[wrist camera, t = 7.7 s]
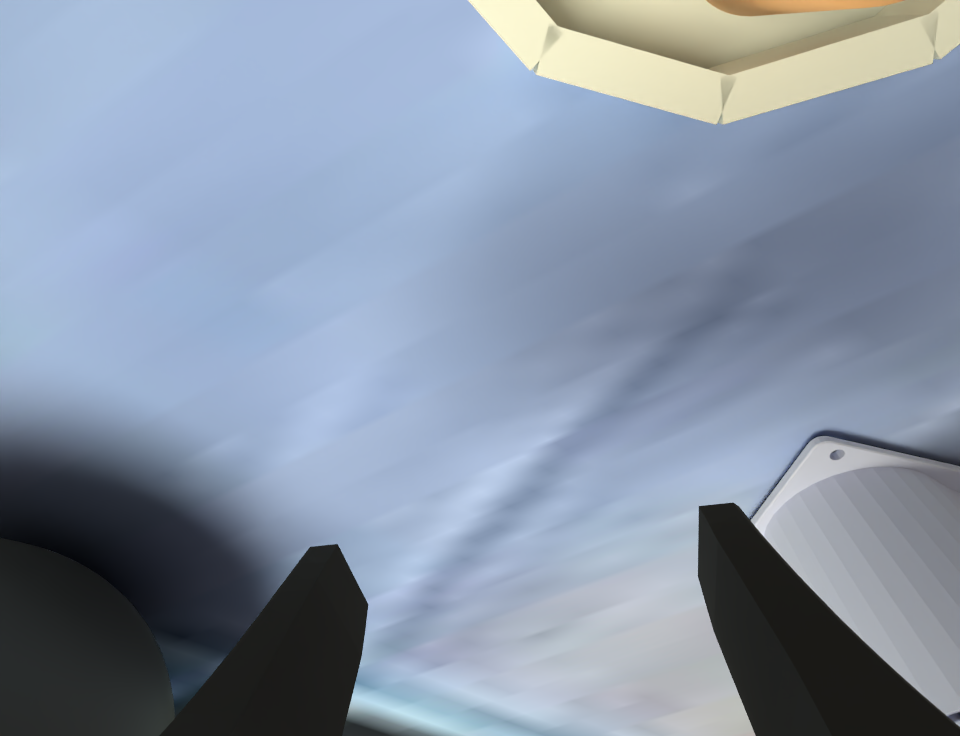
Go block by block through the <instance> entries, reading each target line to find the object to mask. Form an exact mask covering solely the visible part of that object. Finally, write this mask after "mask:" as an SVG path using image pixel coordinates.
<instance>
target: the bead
mask: <svg viewBox="0 0 960 736" xmlns="http://www.w3.org/2000/svg"><path fill="white" fill-rule="evenodd" d="M706 1H707V2H708V3H710V4H711V5H712V6H714V7H716V8H717V9H719V10H721V11H724V12H726V13H729V14H733V15H738V16H762V15H776V14H790V13H803V12H817V11H831V10H844V9H858V8H870V7H879V6H885V5H889V4H893V3H897V2H901V1H904V0H706Z"/></svg>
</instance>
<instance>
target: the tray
mask: <svg viewBox="0 0 960 736" xmlns="http://www.w3.org/2000/svg"><path fill="white" fill-rule="evenodd" d="M468 1H469V2H470V3H471V4H472V5H473V7H474V8H475V9H476V10H477V11H478V12H479V13H480V14H481V16H482V17H483V18H484V19H485V20H486V21H487V22H488V24H489V25H490V26H491V27H492V28H493V29H494V30H495V32H496V33H497V34H498V35H499V36H500V37H501V38H502V39H503V41H504V42H505V43H506V44H507V45H508V46H509V47H510V49H511V50H512V51H513V52H514V53H515V54H516V55H517V56H518V58H519V59H520V60H521V61H522V62H523V63H524V64H525V66H526V67H527V68H528V69H529V70H530V71H531V70H532V69H533V71H534V72H535V74H536V75H539V76H543V77H546V78H550V79H553V80H557V81H561V82H564V83H568V84H571V85H575V86H579V87H582V88H586V89H589V90H593V91H597V92H600V93H604V94H607V95H611V96H615V97H618V98H622V99H625V100H629V101H633V102H636V103H640V104H643V105H647V106H651V107H654V108H658V109H661V110H665V111H669V112H672V113H676V114H679V115H683V116H687V117H690V118H694V119H697V120H701V121H705V122H708V123H712V124H715V125H717V123H720V124H723V125H724V124H727V123H730V122H734V121H737V120H741V119H744V118H748V117H751V116H754V115H758V114H761V113H765V112H768V111H772V110H775V109H778V108H782V107H785V106H789V105H792V104H796V103H799V102H802V101H806V100H809V99H813V98H816V97H820V96H823V95H826V94H830V93H833V92H837V91H840V90H844V89H847V88H850V87H854V86H857V85H861V84H864V83H868V82H871V81H874V80H878V79H881V78H885V77H888V76H892V75H895V74H899V73H902V72H905V71H909V70H912V69H916V68H919V67H923V66H926V65H929V64H933V59H941V58H943V57H944V56H945V55H946V54H948V53H949V52H950V51H951V50H953V49H954V48H955V47H956V46H958V45H959V44H960V0H904V1H901V2H897V3H893V4H889V5H885V6H879V7H870V8H858V9H844V10H831V11H817V12H803V13H790V14H776V15H762V16H738V15H733V14H729V13H726V12H724V11H721V10H719V9H717V8H716V7H714V6H712V5H711V4H710V3H708V2H707V1H706V0H468Z"/></svg>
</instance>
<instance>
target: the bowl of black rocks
mask: <svg viewBox="0 0 960 736" xmlns="http://www.w3.org/2000/svg"><path fill="white" fill-rule="evenodd" d="M174 719H175V712H174V699H173V694H172V688H171V683H170V678H169V674H168V671H167V668H166V665H165V662H164V659H163V655H162V653H161V651H160V648H159V646H158V644H157V642H156V640H155V638H154V636H153V634H152V632H151V630H150V629H149V627H148V625H147V624H146V622H145V621H144V620H143V618H142V617H141V615H140V614H139V613H138V611H137V610H136V609H135V607H134V606H133V605H132V604H131V603H130V602H129V600H128V599H127V598H126V597H125V596H124V595H123V594H121V593H120V592H119V591H118V590H117V589H116V588H115V587H114V586H112V585H111V584H110V583H109V582H107V581H106V580H105V579H104V578H102V577H101V576H99V575H98V574H97V573H95V572H93V571H92V570H90V569H89V568H87V567H85V566H83V565H82V564H80V563H78V562H76V561H74V560H72V559H70V558H68V557H65V556H63V555H61V554H58V553H55V552H53V551H50V550H47V549H44V548H41V547H38V546H34V545H30V544H26V543H22V542H18V541H13V540H9V539H4V538H0V736H159V735H160V734H161V733H162V732H163V731H164V730H165V729H166V728H167V727H168V725H169V724H170V723H171V722H172V721H173V720H174Z"/></svg>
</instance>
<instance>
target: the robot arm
mask: <svg viewBox="0 0 960 736" xmlns="http://www.w3.org/2000/svg"><path fill="white" fill-rule="evenodd" d="M835 450H837V451H836V452H833V451H835ZM832 452H833V453H832ZM698 578H699V581H700V585H701V588H702V592H703V595H704V599H705V603H706V606H707V609H708V613H709V616H710V620H711V623H712V626H713V630H714V633H715V635H716V638H717V640H718V643H719V645H720V648H721V650H722V653H723V655H724V658H725V660H726V663H727V665H728V668H729V670H730V673H731V675H732V678H733V680H734V683H735V685H736V688H737V690H738V693H739V695H740V698H741V700H742V703H743V705H744V708H745V710H746V713H747V715H748V718H749V720H750V722H751V725H752V727H753V730H754V732H755V735H756V736H960V466H956V465H952V464H948V463H943V462H939V461H934V460H930V459H926V458H921V457H917V456H913V455H908V454H904V453H899V452H895V451H891V450H886V449H882V448H878V447H873V446H869V445H864V444H860V443H856V442H851V441H847V440H843V439H838V438H834V437H829V436H820V437H816V438H814V439H812V440H811V441H810V442H809V443H808V444H807V446H806V447H805V448H804V450H803V451H802V452H801V454H800V455H799V456H798V458H797V459H796V460H795V462H794V463H793V465H792V466H791V467H790V469H789V470H788V471H787V473H786V474H785V475H784V477H783V478H782V479H781V481H780V482H779V483H778V485H777V486H776V487H775V489H774V490H773V491H772V493H771V494H770V495H769V497H768V498H767V499H766V501H765V502H764V503H763V505H762V506H761V507H760V509H759V510H758V511H757V513H756V514H755V515H754V517H753V518H752V519H751V521H750V520H749V518H748V517H747V516H746V515H745V514H744V512H743V511H742V510H741V509H740V507H739V506H737V505H736V504H734V503H725V504H716V505H706V506H699V543H698ZM367 610H368V603H367V601H366V599H365V597H364V595H363V593H362V592H361V590H360V588H359V586H358V584H357V582H356V580H355V578H354V576H353V574H352V572H351V570H350V568H349V566H348V564H347V562H346V560H345V558H344V556H343V554H342V552H341V550H340V548H339V546H338V544H335V545H325V546H316V547H310V548H309V549H308V551H307V552H306V553H305V554H304V556H303V557H302V558H301V560H300V561H299V562H298V564H297V565H296V566H295V568H294V569H293V570H292V572H291V573H290V574H289V576H288V577H287V578H286V580H285V581H284V582H283V584H282V585H281V586H280V588H279V589H278V590H277V592H276V593H275V594H274V596H273V597H272V598H271V600H270V601H269V602H268V604H267V605H266V606H265V608H264V609H263V610H262V612H261V613H260V614H259V616H258V617H257V618H256V620H255V621H254V622H253V623H252V625H251V626H250V627H249V629H248V630H247V631H246V633H245V634H244V635H243V636H242V638H241V639H240V640H239V642H238V643H237V644H236V646H235V647H234V648H233V649H232V651H231V652H230V653H229V654H228V656H227V657H226V658H225V659H224V661H223V662H222V663H221V664H220V665H219V667H218V668H217V669H216V670H215V671H214V673H213V674H212V675H211V676H210V678H209V679H208V680H207V681H206V682H205V684H204V685H203V686H202V687H201V688H200V690H199V691H198V692H197V693H196V694H195V696H194V697H193V698H192V699H191V700H190V702H189V703H188V704H187V705H186V706H185V707H184V709H183V710H182V711H181V712H180V713H179V714H178V715H177V716H176V718H175V719H174V720H173V721H172V722H171V723H170V724H169V725H168V727H167V728H166V729H165V730H164V731H163V732H162V733H161V734H160V735H159V736H342V733H343V729H344V725H345V721H346V717H347V713H348V709H349V705H350V702H351V698H352V693H353V689H354V685H355V681H356V677H357V673H358V669H359V665H360V660H361V656H362V649H363V642H364V635H365V627H366V619H367Z"/></svg>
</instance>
